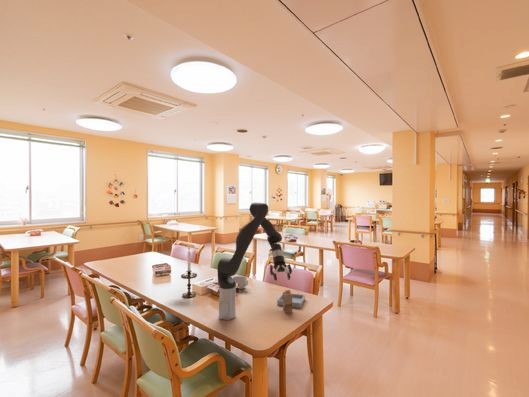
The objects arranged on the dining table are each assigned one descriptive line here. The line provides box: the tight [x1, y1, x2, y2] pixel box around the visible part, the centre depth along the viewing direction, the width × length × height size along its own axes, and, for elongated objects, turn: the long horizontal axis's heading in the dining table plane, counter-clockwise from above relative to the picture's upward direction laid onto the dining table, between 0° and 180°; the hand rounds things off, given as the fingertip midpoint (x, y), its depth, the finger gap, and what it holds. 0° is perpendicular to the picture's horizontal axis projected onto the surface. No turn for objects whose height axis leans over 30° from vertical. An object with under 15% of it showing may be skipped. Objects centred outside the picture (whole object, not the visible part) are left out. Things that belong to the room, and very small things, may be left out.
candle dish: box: [276, 292, 306, 309], centre depth 173 cm, size 15×15×3 cm
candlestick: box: [180, 246, 198, 299], centre depth 184 cm, size 11×11×35 cm
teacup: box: [232, 275, 249, 290], centre depth 198 cm, size 14×11×8 cm
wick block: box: [282, 289, 293, 314], centre depth 159 cm, size 4×4×13 cm
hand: (282, 279), depth 170 cm, fingers open, 8 cm apart
